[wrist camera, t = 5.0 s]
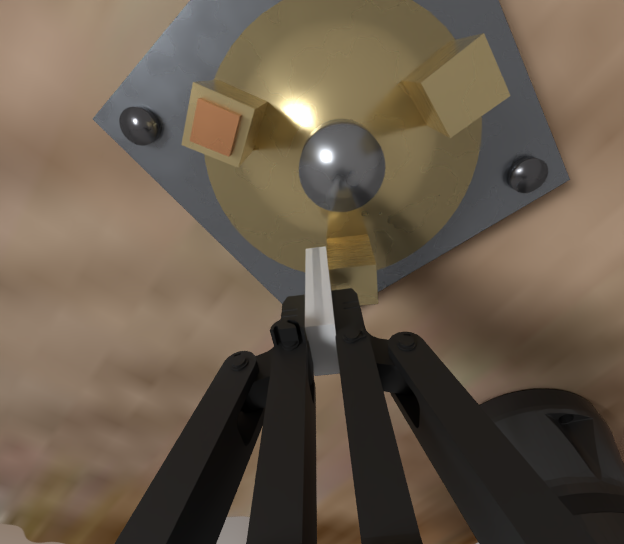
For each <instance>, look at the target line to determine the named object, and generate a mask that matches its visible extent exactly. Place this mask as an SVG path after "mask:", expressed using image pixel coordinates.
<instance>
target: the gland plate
mask: <svg viewBox="0 0 624 544" xmlns="http://www.w3.org/2000/svg"><path fill="white" fill-rule="evenodd" d="M280 1H282V0H190V1H189V2H188V4H187V5H186V6H185V7H184V8H183V10H182V11H181V12H180V13H179V15H178V16H177V17H176V18H175V19H174V21H173V22H172V23H171V24H170V26H169V27H168V28H167V29H166V30H165V32H164V33H163V34H162V35H161V36H160V38H159V39H158V40H157V41H156V43H155V44H154V45H153V46H152V47H151V49H150V50H149V51H148V52H147V53H146V55H145V56H144V57H143V58H142V60H141V61H140V62H139V63H138V64H137V66H136V67H135V68H134V69H133V71H132V72H131V73H130V74H129V75H128V77H127V78H126V79H125V80H124V81H123V83H122V84H121V85H120V86H119V88H118V89H117V90H116V91H115V92H114V94H113V95H112V96H111V97H110V98H109V100H108V101H107V102H106V103H105V105H104V106H103V107H102V108H101V109H100V111H99V112H98V113H97V114H96V116H95V117H94V118H93V120H94V121H95V122H96V123H97V124H98V125H99V126H100V127H101V128H102V129H103V130H104V131H105V132H106V133H107V134H108V135H110V136H111V137H112V138H113V139H114V140H115V141H116V142H117V143H118V144H119V145H120V146H121V147H122V148H123V149H124V150H125V151H126V152H127V153H128V154H129V155H130V156H131V157H132V158H133V159H134V160H135V161H136V162H137V163H138V164H139V165H140V166H141V167H142V168H143V169H144V170H145V171H146V172H147V173H148V174H149V175H151V176H152V177H153V178H154V179H155V180H156V181H157V182H158V183H159V184H160V185H161V186H162V187H163V188H164V189H165V190H166V191H167V192H168V193H169V194H170V195H171V196H172V197H173V198H174V199H175V200H176V201H177V202H178V203H179V204H180V205H181V206H182V207H183V208H184V209H185V210H186V211H187V212H188V213H189V214H190V215H192V216H193V217H194V218H195V219H196V220H197V221H198V222H199V223H200V224H201V225H202V226H203V227H204V228H205V229H206V230H207V231H208V232H209V233H210V234H211V235H212V236H213V237H214V238H215V239H216V240H217V241H218V242H219V243H220V244H221V245H222V246H223V247H224V248H225V249H226V250H227V251H228V252H229V253H230V254H232V255H233V256H234V257H235V258H236V259H237V260H238V261H239V262H240V263H241V264H242V265H243V266H244V267H245V268H246V269H247V270H248V271H249V272H250V273H251V274H252V275H253V276H254V277H255V278H256V279H257V280H258V281H259V282H260V283H261V284H262V285H263V286H264V287H265V288H266V289H267V290H268V291H269V292H270V293H271V294H273V295H274V296H275V297H276V298H277V299H278V300H279V301H280V302H281V303H282V304H283V302H284V301H285V299H286V298H287V297H288V296H297V295H305V272H302V271H298V270H295V269H292V268H290V267H287V266H285V265H283V264H280V263H278V262H276V261H275V260H273V259H271V258H269V257H268V256H266V255H264V254H263V253H262V252H260V251H259V250H258V249H256V248H255V247H254V246H252V245H251V244H250V243H249V242H248V241H247V240H246V239H245V238H244V237H243V236H242V235H241V234H240V233H239V232H238V230H237V229H236V228H235V227H234V226H233V225H232V223H231V222H230V220H229V219H228V217H227V216H226V214H225V213H224V211H223V210H222V208H221V206H220V204H219V202H218V200H217V198H216V196H215V193H214V191H213V188H212V185H211V182H210V180H209V176H208V172H207V167H206V163H205V156H204V154H203V153H200V152H198V151H195V150H193V149H190V148H188V147H185V146H183V145H181V144H182V138H183V133H184V128H185V122H186V117H187V111H188V106H189V101H190V95H191V90H192V84H193V82H198V81H210V80H214V78H215V76H216V73H217V71H218V69H219V66H220V64H221V62H222V61H223V59H224V57H225V56H226V54H227V52H228V51H229V49H230V47H231V46H232V45H233V43H234V42H235V41H236V40H237V39H238V37H239V36H240V35H241V34H242V32H243V31H244V30H245V29H246V28H247V27H248V26H249V25H250V24H251V23H252V22H253V21H255V20H256V19H257V18H258V17H259V16H260V15H261V14H262V13H264V12H265V11H267V10H268V9H270V8H271V7H273V6H274V5H276V4H277V3H279V2H280ZM413 1H414V2H416V3H417V4H419V5H420V6H422V7H423V8H425V9H426V10H428V11H429V12H430V13H431V14H433V15H434V16H435V17H436V18H437V19H438V20H439V21H440V22H441V23H442V24H443V25H444V26H445V27H446V28H447V29H448V31H449V32H450V33H451V34H452V36H453V37H454V38H455V40H457V39H461V38H465V37H469V36H474V35H478V34H482V33H484V34H485V37H486V39H487V41H488V44H489V46H490V48H491V51H492V53H493V55H494V58H495V60H496V62H497V65H498V67H499V70H500V72H501V74H502V77H503V79H504V81H505V84H506V86H507V88H508V91H509V93H510V95H511V96H510V97H508V98H507V99H505V100H504V101H502V102H501V103H500V104H498V105H497V106H495V107H494V108H492V109H491V110H490V111H488V112H487V113H485V114H484V115H483V116H482V133H481V145H480V150H479V156H478V161H477V164H476V168H475V171H474V174H473V177H472V180H471V182H470V185H469V187H468V189H467V191H466V194H465V196H464V197H463V199H462V201H461V203H460V204H459V206H458V208H457V209H456V211H455V212H454V214H453V215H452V216H451V218H450V219H449V220H448V222H447V223H446V224H445V225H444V226H443V227H442V229H441V230H440V231H439V232H438V233H437V234H436V235H435V236H434V237H433V238H432V239H431V240H429V241H428V242H427V243H426V244H425V245H423V246H422V247H421V248H420V249H418V250H417V251H415V252H414V253H412V254H411V255H409V256H408V257H406V258H404V259H402V260H400V261H398V262H396V263H395V264H392V265H390V266H387V267H385V268H382V269H379V270H377V291H378V292H379V291H381V290H382V289H384V288H386V287H388V286H389V285H391V284H393V283H394V282H396V281H398V280H399V279H401V278H403V277H405V276H406V275H408V274H410V273H411V272H413V271H415V270H416V269H418V268H420V267H422V266H423V265H425V264H427V263H428V262H430V261H432V260H434V259H435V258H437V257H439V256H440V255H442V254H444V253H445V252H447V251H449V250H451V249H452V248H454V247H456V246H457V245H459V244H461V243H463V242H464V241H466V240H468V239H469V238H471V237H473V236H474V235H476V234H478V233H480V232H481V231H483V230H485V229H486V228H488V227H490V226H491V225H493V224H495V223H497V222H498V221H500V220H502V219H503V218H505V217H507V216H509V215H510V214H512V213H514V212H515V211H517V210H519V209H520V208H522V207H524V206H526V205H527V204H529V203H531V202H532V201H534V200H536V199H537V198H539V197H541V196H543V195H544V194H546V193H548V192H549V191H551V190H553V189H555V188H556V187H558V186H560V185H561V184H563V183H565V182H566V181H568V180H570V179H569V176H568V173H567V171H566V168H565V166H564V163H563V161H562V158H561V156H560V153H559V151H558V148H557V146H556V143H555V141H554V138H553V136H552V133H551V131H550V128H549V126H548V123H547V121H546V118H545V116H544V113H543V111H542V108H541V106H540V103H539V101H538V98H537V96H536V93H535V91H534V88H533V86H532V83H531V81H530V78H529V76H528V73H527V71H526V68H525V66H524V63H523V61H522V58H521V56H520V53H519V51H518V48H517V46H516V43H515V41H514V38H513V36H512V33H511V31H510V28H509V26H508V23H507V21H506V18H505V16H504V13H503V11H502V8H501V6H500V3H499V1H498V0H413Z"/></svg>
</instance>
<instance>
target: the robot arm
mask: <svg viewBox="0 0 624 544" xmlns="http://www.w3.org/2000/svg"><path fill="white" fill-rule="evenodd" d="M270 333H271V336H272V340H273V344H274V347H273V348H272V349H271V350H269V351H268V352H265V353H263V354H260V355H258V356H255V355H254V354H253V353H252V352H248V351H240V352H237V353H234V354H232V355H231V356H229V357H228V358H227V359H226V360H225V362H224V363H223V365H222V366H221V368H220V370H219V371H218V373H217V375H216V376H215V378H214V380H213V381H212V383H211V385H210V386H209V388H208V390H207V391H206V393H205V395H204V396H203V398H202V400H201V401H200V403H199V405H198V406H197V408H196V410H195V411H194V413H193V414H192V416H191V418H190V419H189V421H188V423H187V424H186V426H185V428H184V429H183V431H182V433H181V434H180V436H179V438H178V439H177V441H176V443H175V444H174V446H173V448H172V449H171V451H170V453H169V454H168V456H167V458H166V459H165V461H164V463H163V464H162V466H161V468H160V469H159V471H158V473H157V474H156V476H155V478H154V479H153V481H152V483H151V484H150V486H149V488H148V489H147V491H146V493H145V494H144V496H143V498H142V499H141V501H140V503H139V504H138V506H137V507H136V509H135V511H134V512H133V514H132V516H131V517H130V519H129V521H128V522H127V524H126V526H125V527H124V529H123V531H122V532H121V534H120V536H119V537H118V539H117V541H116V542H115V544H216V542H217V540H218V537H219V535H220V532H221V530H222V527H223V525H224V522H225V520H226V517H227V515H228V512H229V510H230V507H231V504H232V502H233V499H234V497H235V494H236V492H237V489H238V487H239V484H240V482H241V479H242V477H243V474H244V471H245V469H246V466H247V464H248V461H249V459H250V456H251V454H252V451H253V449H254V446H255V444H256V441H257V439H258V436H259V433H260V431H261V428H262V426H263V428H262V436H261V443H260V450H259V457H258V464H257V471H256V478H255V485H254V492H253V500H252V507H251V514H250V521H249V528H248V536H247V542H246V544H317V502H316V393H315V382H314V376H319V375H329V374H338V373H340V377H341V385H342V393H343V400H344V408H345V416H346V424H347V432H348V440H349V448H350V456H351V464H352V472H353V480H354V488H355V495H356V503H357V511H358V519H359V527H360V535H361V543H362V544H423V543H422V540H421V537H420V533H419V529H418V525H417V521H416V517H415V513H414V510H413V506H412V502H411V498H410V494H409V490H408V486H407V482H406V478H405V474H404V470H403V466H402V463H401V459H400V455H399V451H398V447H397V443H396V439H395V435H394V431H393V427H392V423H391V419H390V416H389V412H388V408H387V404H386V400H385V396H384V392H383V391H385V392H390V393H391V396H392V397H393V399H394V401H395V402H396V404H397V406H398V407H399V409H400V411H401V412H402V414H403V416H404V418H405V419H406V421H407V423H408V424H409V426H410V428H411V429H412V431H413V433H414V434H415V436H416V438H417V439H418V441H419V443H420V444H421V446H422V448H423V449H424V451H425V453H426V455H427V456H428V458H429V460H430V461H431V463H432V465H433V466H434V468H435V470H436V471H437V473H438V475H439V476H440V478H441V480H442V481H443V483H444V485H445V487H446V488H447V490H448V492H449V493H450V495H451V497H452V498H453V500H454V502H455V503H456V505H457V507H458V508H459V510H460V512H461V513H462V515H463V517H464V519H465V520H466V522H467V524H468V525H469V527H470V529H471V530H472V532H473V534H474V535H475V537H476V539H477V540H478V542H479V543H480V544H624V464H623V461H622V459H621V456H620V453H619V451H618V448H617V446H616V443H615V440H614V438H613V435H612V432H611V430H610V428H609V427H608V425H607V423H606V422H605V421H604V419H603V418H602V417H601V416H600V414H599V413H598V412H597V411H596V409H595V408H594V407H593V406H592V405H591V404H590V403H589V402H588V401H587V400H586V399H584V398H582V397H581V396H578V395H576V394H573V393H570V392H566V391H561V390H553V389H534V390H525V391H519V392H514V393H510V394H506V395H503V396H500V397H497V398H494V399H492V400H490V401H487V402H485V403H483V404H481V405H478V403H477V402H476V401H475V400H474V399H473V398H472V396H471V395H470V394H469V393H468V392H467V391H466V389H465V388H464V387H463V386H462V385H461V383H460V382H459V381H458V380H457V379H456V378H455V376H454V375H453V374H452V373H451V372H450V371H449V369H448V368H447V367H446V366H445V365H444V364H443V362H442V361H441V360H440V359H439V358H438V357H437V355H436V354H435V353H434V352H433V351H432V349H431V348H430V347H429V346H428V345H427V344H426V342H425V341H424V340H423V339H422V338H421V337H420V336H418V335H417V334H414V333H411V332H399V333H396V334H394V335H392V337H391V338H390V339H389V340H386V339H379V338H376V337H373V336H372V335H370V334H369V333H368V332H367V331H366V329H365V325H364V321H363V317H362V312H361V308H360V304H359V299H358V295H357V293H356V292H355V291H354V290H353V289H352V288H348V289H340V290H332V291H331V284H330V277H329V269H328V261H327V251H326V246H324V247H316V248H308V249H306V260H305V295H297V296H288V297H287V298H286V299H285V301H284V302H283V304H282V313H281V320H279V321H277V322H276V323H274V324H273V325H272V327H271V329H270Z"/></svg>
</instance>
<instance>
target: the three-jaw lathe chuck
mask: <svg viewBox="0 0 624 544" xmlns="http://www.w3.org/2000/svg"><path fill="white" fill-rule="evenodd" d="M510 96H511V95H510V93H509V91H508V88H507V86H506V84H505V81H504V79H503V77H502V74H501V72H500V70H499V67H498V65H497V62H496V60H495V58H494V55H493V53H492V51H491V48H490V46H489V44H488V41H487V39H486V37H485V34H484V33H482V34H478V35H474V36H469V37H465V38H461V39H457V40H455V38H454V37H453V36H452V34H451V33H450V32H449V31H448V29H447V28H446V27H445V26H444V25H443V24H442V23H441V22H440V21H439V20H438V19H437V18H436V17H435V16H434V15H433V14H431V13H430V12H429V11H428V10H426V9H425V8H423V7H422V6H420V5H419V4H417V3H416V2H414V1H413V0H282V1H280V2H279V3H277V4H276V5H274V6H273V7H271V8H270V9H268V10H267V11H265V12H264V13H262V14H261V15H260V16H259V17H258V18H257V19H256V20H255V21H253V22H252V23H251V24H250V25H249V26H248V27H247V28H246V29H245V30H244V31H243V32H242V34H241V35H240V36H239V37H238V39H237V40H236V41H235V42H234V43H233V45H232V46H231V47H230V49H229V51H228V52H227V54H226V56H225V57H224V59H223V61H222V62H221V64H220V66H219V69H218V71H217V73H216V76H215V78H214V80H210V81H198V82H193V84H192V90H191V95H190V101H189V106H188V111H187V117H186V122H185V128H184V133H183V138H182V144H181V145H183V146H185V147H188V148H190V149H193V150H195V151H198V152H200V153H203V154H204V156H205V163H206V167H207V172H208V176H209V180H210V182H211V185H212V188H213V191H214V193H215V196H216V198H217V200H218V202H219V204H220V206H221V208H222V210H223V211H224V213H225V214H226V216H227V217H228V219H229V220H230V222H231V223H232V225H233V226H234V227H235V228H236V229H237V230H238V232H239V233H240V234H241V235H242V236H243V237H244V238H245V239H246V240H247V241H248V242H249V243H250V244H251V245H252V246H254V247H255V248H256V249H258V250H259V251H260V252H262V253H263V254H264V255H266V256H268V257H269V258H271V259H273V260H275V261H276V262H278V263H280V264H283V265H285V266H287V267H290V268H292V269H295V270H298V271H302V272H305V260H306V249H308V248H316V247H324V246H326V251H327V261H328V269H329V277H330V284H331V291H332V290H340V289H348V288H352V289H353V290H354V291H355V292H356V293H357V295H358V299H359V304H360V305H370V304H378V291H377V270H379V269H382V268H385V267H387V266H390V265H392V264H395V263H396V262H398V261H400V260H402V259H404V258H406V257H408V256H409V255H411V254H412V253H414V252H415V251H417V250H418V249H420V248H421V247H422V246H423V245H425V244H426V243H427V242H428V241H429V240H431V239H432V238H433V237H434V236H435V235H436V234H437V233H438V232H439V231H440V230H441V229H442V227H443V226H444V225H445V224H446V223H447V222H448V220H449V219H450V218H451V216H452V215H453V214H454V212H455V211H456V209H457V208H458V206H459V204H460V203H461V201H462V199H463V197H464V196H465V194H466V191H467V189H468V187H469V185H470V182H471V180H472V177H473V174H474V171H475V168H476V164H477V161H478V156H479V150H480V145H481V133H482V116H483V115H484V114H485V113H487V112H488V111H490V110H491V109H492V108H494V107H495V106H497V105H498V104H500V103H501V102H502V101H504V100H505V99H507V98H508V97H510Z"/></svg>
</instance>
